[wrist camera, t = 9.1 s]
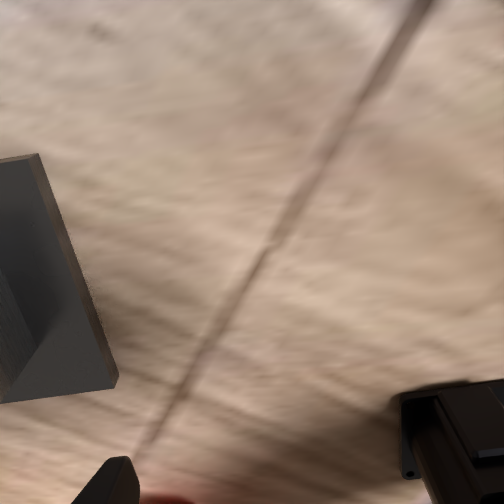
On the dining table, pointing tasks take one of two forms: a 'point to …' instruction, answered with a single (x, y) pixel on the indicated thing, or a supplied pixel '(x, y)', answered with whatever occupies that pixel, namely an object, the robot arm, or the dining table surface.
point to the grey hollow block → (12, 339)
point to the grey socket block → (48, 290)
